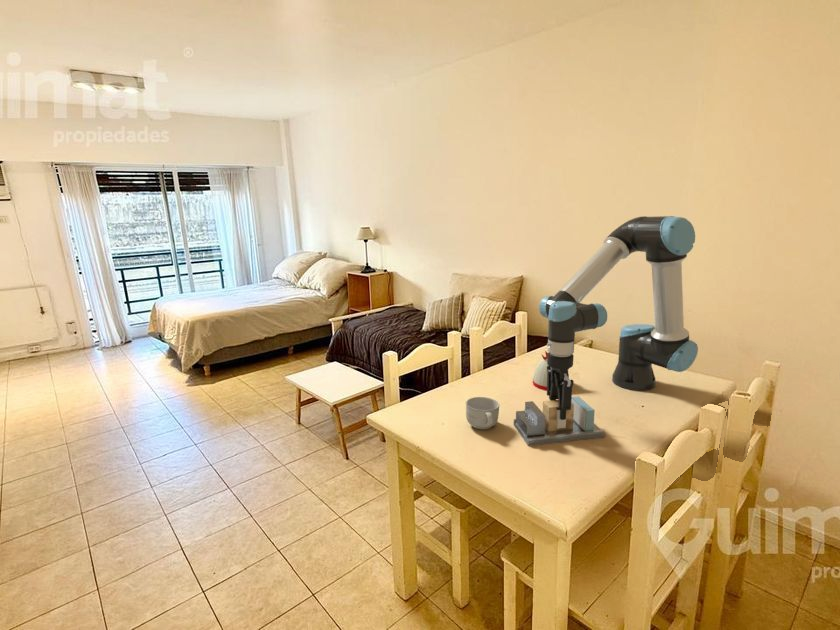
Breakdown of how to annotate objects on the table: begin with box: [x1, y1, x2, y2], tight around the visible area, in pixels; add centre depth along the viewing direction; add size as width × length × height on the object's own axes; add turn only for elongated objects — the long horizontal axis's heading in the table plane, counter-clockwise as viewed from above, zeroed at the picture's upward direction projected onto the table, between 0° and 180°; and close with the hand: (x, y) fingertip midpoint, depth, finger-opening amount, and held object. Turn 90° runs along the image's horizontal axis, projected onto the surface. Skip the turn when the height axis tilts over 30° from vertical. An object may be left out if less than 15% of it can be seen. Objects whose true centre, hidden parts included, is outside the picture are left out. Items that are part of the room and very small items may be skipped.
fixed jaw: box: [515, 400, 545, 438], centre depth 135 cm, size 6×10×7 cm, turn 7°
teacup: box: [465, 396, 500, 430], centre depth 140 cm, size 14×11×8 cm
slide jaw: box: [571, 395, 596, 432], centre depth 137 cm, size 3×10×7 cm, turn 7°
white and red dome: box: [532, 350, 570, 392], centre depth 170 cm, size 14×14×15 cm
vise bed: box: [513, 418, 605, 447], centre depth 137 cm, size 24×13×2 cm, turn 97°
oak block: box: [542, 399, 574, 431], centre depth 136 cm, size 8×4×8 cm, turn 97°
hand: (557, 423), depth 136 cm, fingers closed on oak block, 4 cm apart
